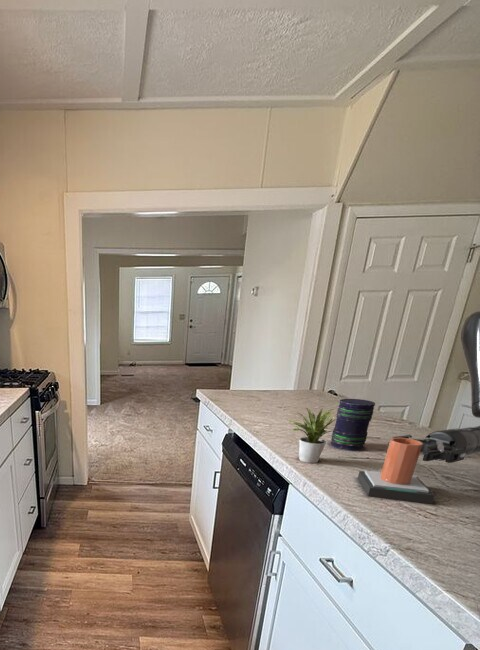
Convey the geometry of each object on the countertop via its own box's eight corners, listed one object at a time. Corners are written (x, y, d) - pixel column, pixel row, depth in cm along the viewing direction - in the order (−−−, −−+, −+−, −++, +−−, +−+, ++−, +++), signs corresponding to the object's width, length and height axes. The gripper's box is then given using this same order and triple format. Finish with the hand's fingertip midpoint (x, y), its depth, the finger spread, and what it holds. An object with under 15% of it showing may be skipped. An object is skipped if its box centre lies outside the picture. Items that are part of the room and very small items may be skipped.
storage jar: (351, 441, 139) (361, 398, 133) (371, 450, 130) (383, 404, 124) (323, 442, 138) (332, 399, 132) (341, 451, 129) (352, 405, 123)
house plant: (298, 448, 132) (308, 399, 126) (342, 459, 122) (355, 406, 115) (274, 457, 124) (284, 405, 118) (320, 470, 114) (333, 413, 107)
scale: (415, 484, 104) (418, 474, 102) (432, 504, 93) (436, 493, 92) (357, 478, 108) (359, 468, 107) (367, 496, 97) (370, 485, 96)
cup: (405, 477, 101) (417, 439, 97) (413, 486, 96) (426, 446, 92) (377, 474, 103) (387, 436, 99) (383, 482, 98) (394, 443, 94)
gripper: (424, 423, 107) (382, 429, 101) (489, 437, 94) (444, 444, 89) (416, 450, 110) (374, 457, 104) (477, 466, 97) (433, 475, 92)
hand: (406, 451), depth 97 cm, fingers open, 8 cm apart
